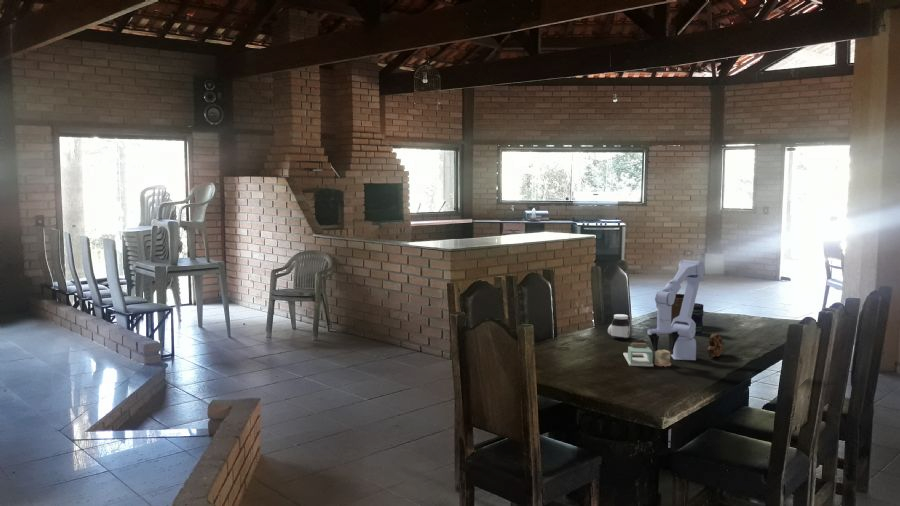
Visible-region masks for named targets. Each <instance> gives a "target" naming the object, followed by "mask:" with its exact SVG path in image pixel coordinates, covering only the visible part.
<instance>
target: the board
mask: <svg viewBox="0 0 900 506" xmlns="http://www.w3.org/2000/svg"><path fill="white" fill-rule="evenodd" d="M623 356H624V358H625V360H626V362H627V364H628V366H631V367H633V366H634V367H654V362H652V364H651V363H650V362H649V360H648V359H647V353H632V363H630V361H629V359H628V352H623ZM633 356H639V357H633ZM640 356H641V357H640Z"/></svg>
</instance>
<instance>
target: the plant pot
mask: <svg viewBox="0 0 900 506" xmlns="http://www.w3.org/2000/svg"><path fill="white" fill-rule="evenodd" d="M684 294H685V293H684ZM684 294H683V293H677V294H676V295H675V296H676V297H675V300H674V303H673V304H672V308H671V324H672V322H673V319H674V318H676V317H678V316H679V315H680V311H681V307H682V302H683V298H684Z"/></svg>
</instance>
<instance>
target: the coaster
mask: <svg viewBox="0 0 900 506" xmlns="http://www.w3.org/2000/svg"><path fill="white" fill-rule="evenodd" d="M653 365H655V366H657V367H662V366H664V367H667V366H668V367H671V366H672V363H671V362H670V364H659V363H657V362H655V361H653Z"/></svg>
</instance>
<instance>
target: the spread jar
mask: <svg viewBox="0 0 900 506" xmlns="http://www.w3.org/2000/svg"><path fill="white" fill-rule="evenodd" d="M630 330H631V322H630V320H629V315H627V314H622V313H621V314H620V313H618V314H617V313H616V314H613V319H612V321H611V324H610V325H609V326H608V328H607V334H609V335H610V336H611V337H612V338H613V339H614V340H620V341H624V340H627V339H629V337H630V333H631V331H630Z"/></svg>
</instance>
